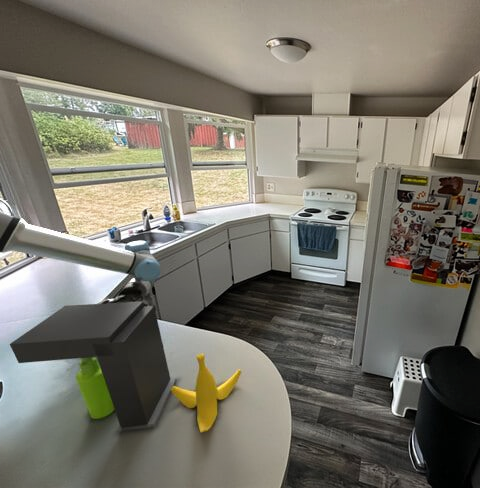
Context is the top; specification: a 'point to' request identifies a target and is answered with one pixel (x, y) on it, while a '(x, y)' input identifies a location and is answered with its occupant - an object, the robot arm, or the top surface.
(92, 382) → the soap dispenser
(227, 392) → the banana peel
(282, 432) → the top surface
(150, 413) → the coffee maker
